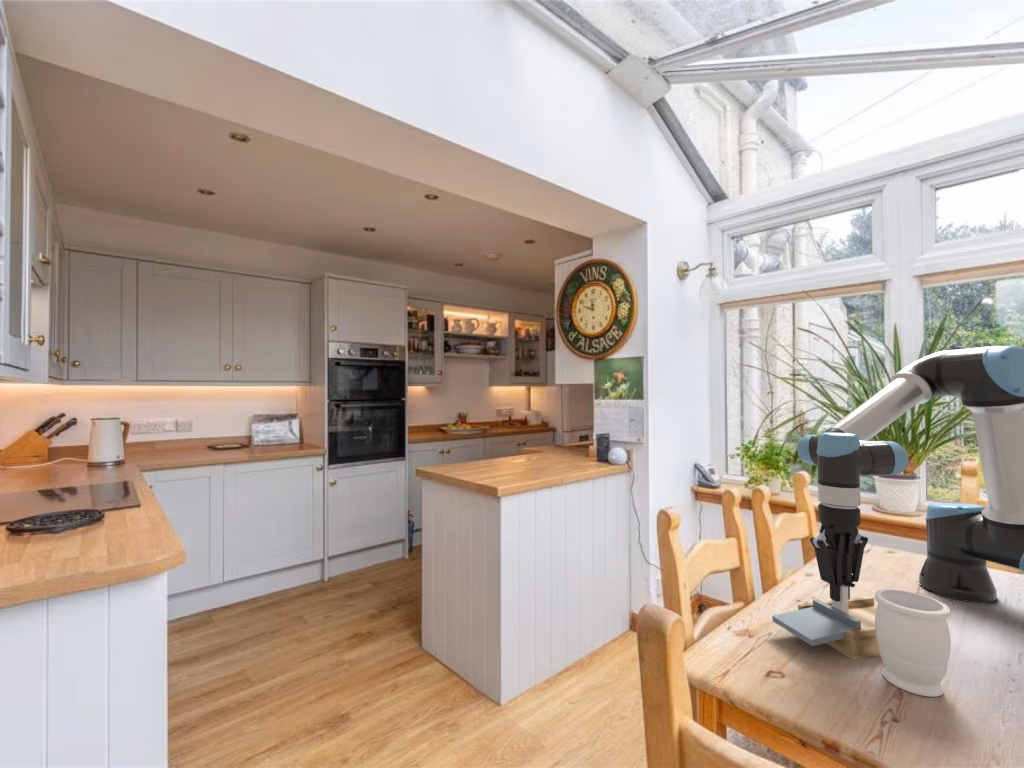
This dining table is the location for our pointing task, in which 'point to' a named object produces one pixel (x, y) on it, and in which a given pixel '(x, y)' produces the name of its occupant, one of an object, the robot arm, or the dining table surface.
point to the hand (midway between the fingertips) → (840, 615)
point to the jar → (913, 640)
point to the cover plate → (817, 623)
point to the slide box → (857, 640)
